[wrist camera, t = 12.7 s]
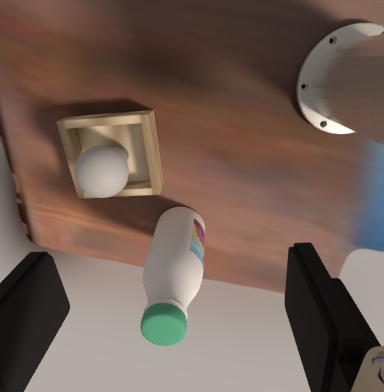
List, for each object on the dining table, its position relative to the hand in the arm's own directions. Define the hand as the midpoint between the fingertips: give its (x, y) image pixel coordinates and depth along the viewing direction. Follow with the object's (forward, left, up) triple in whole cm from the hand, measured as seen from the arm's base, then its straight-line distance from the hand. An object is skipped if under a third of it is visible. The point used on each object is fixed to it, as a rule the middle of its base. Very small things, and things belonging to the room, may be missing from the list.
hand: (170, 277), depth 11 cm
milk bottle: (+4, +16, -31) cm, 35 cm away
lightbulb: (+11, +3, -30) cm, 32 cm away
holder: (+12, +3, -30) cm, 33 cm away
